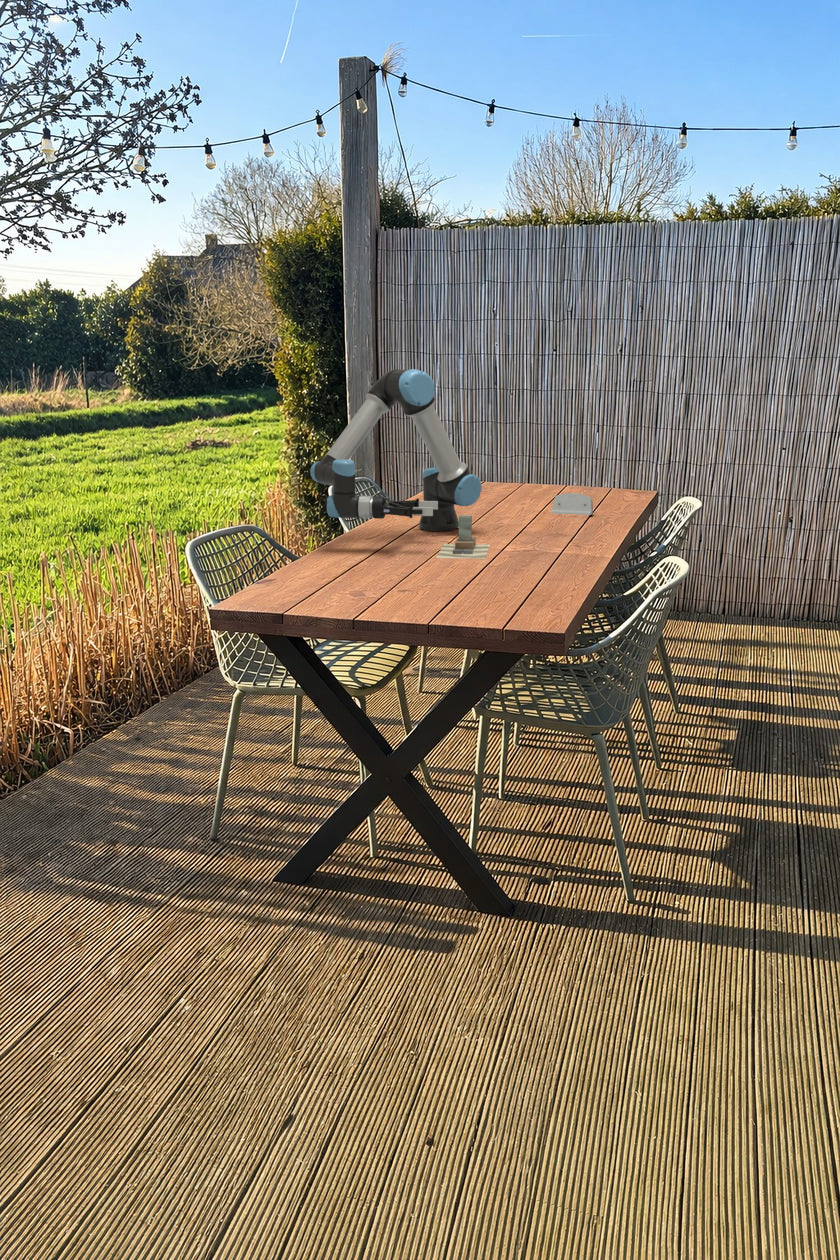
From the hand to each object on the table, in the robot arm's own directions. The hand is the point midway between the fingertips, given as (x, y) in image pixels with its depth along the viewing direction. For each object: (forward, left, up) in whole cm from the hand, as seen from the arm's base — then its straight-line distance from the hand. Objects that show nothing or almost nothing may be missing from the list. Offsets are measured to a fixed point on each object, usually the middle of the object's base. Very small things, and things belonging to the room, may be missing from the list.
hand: (435, 508), depth 327 cm
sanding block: (0, +10, -13) cm, 17 cm away
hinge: (-72, +47, -15) cm, 87 cm away
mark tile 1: (+9, +8, -13) cm, 18 cm away
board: (+6, +10, -15) cm, 19 cm away
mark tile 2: (+9, +12, -13) cm, 20 cm away
